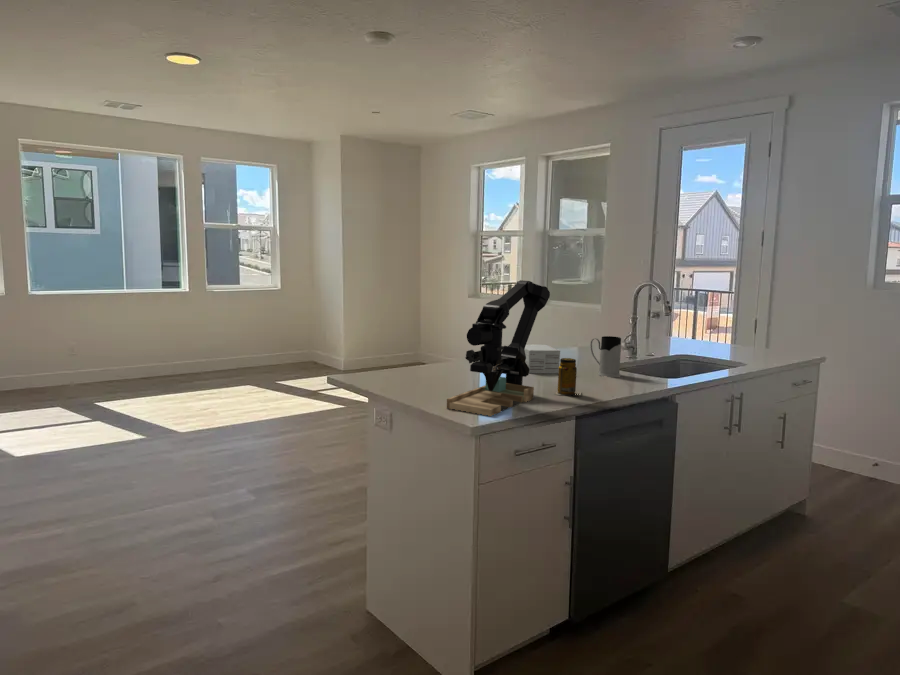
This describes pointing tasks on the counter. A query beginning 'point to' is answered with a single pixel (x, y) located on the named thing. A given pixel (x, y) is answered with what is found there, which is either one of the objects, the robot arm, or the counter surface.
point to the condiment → (567, 377)
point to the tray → (490, 399)
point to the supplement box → (542, 359)
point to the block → (498, 385)
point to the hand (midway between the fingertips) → (490, 390)
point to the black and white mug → (609, 356)
